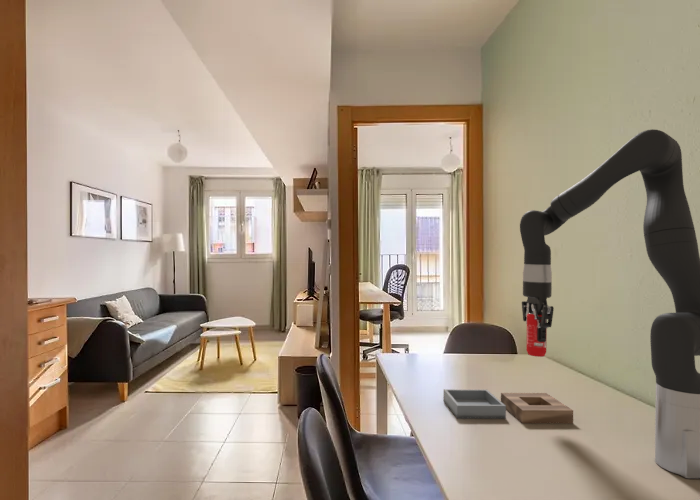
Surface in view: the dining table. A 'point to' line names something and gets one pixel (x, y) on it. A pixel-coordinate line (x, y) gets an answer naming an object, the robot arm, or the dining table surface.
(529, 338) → the beverage can
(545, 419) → the socket holder
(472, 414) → the tray
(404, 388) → the dining table surface
